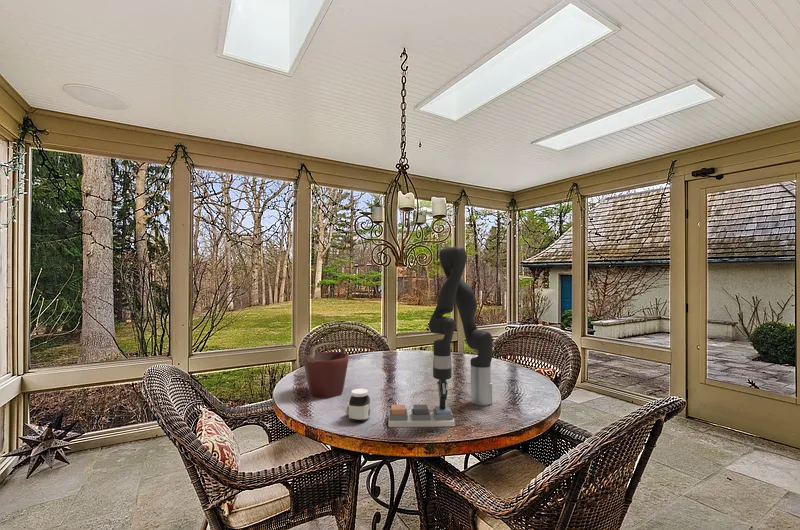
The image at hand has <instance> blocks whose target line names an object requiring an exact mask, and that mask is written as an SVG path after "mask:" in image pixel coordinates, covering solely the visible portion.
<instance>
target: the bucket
mask: <svg viewBox="0 0 800 530" xmlns="http://www.w3.org/2000/svg"><path fill="white" fill-rule="evenodd" d="M328 345H332V346H335V347H337V348H338V349H339V350H340V351H323V352H322V351H321V352H316V350H317V349H319V348H321V347H324V346H328ZM349 355H350V354H349V353H346V349H345V348H344V346H342V345H340V344H338V343H334V342H323V343H319V344H316V345H313V346H312V347H310V348H309V354H307V355H304V356H303V365H304V371H305V375H306V381H307V386H308V390H309V394H310V395H311V396H312V398H314V399H315V398H317V399H319V398H320V399H330V398H335V397H340V396H341V395H342V394H343V393H344V392H343V391H344V388H345V383H346V382H345V381H346V376H347V371H348V365H349V358H350V357H349Z"/></svg>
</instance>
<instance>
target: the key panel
mask: <svg viewBox="0 0 800 530" xmlns="http://www.w3.org/2000/svg"><path fill="white" fill-rule="evenodd" d="M405 409H406V415H392V408H389V412H388V421H387V422H388V425H387V427H388V428H432V427H433V428H434V427H435V428H437V427H439V428H440V427H456V425H455V419H454V414H453V412H452V409H451V408H450V411H451V414H444V415H436V413H435V408H432V411H431V412H430V408H428V415H414V411H413V408H411V409H410V410H411V411H410V412H408V408H405Z"/></svg>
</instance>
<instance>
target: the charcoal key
mask: <svg viewBox="0 0 800 530" xmlns="http://www.w3.org/2000/svg"><path fill="white" fill-rule="evenodd" d="M412 405H413V406H412V407H413V408H412V409H413V411H414V415H428V409H429V408H428V404H412Z"/></svg>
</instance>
